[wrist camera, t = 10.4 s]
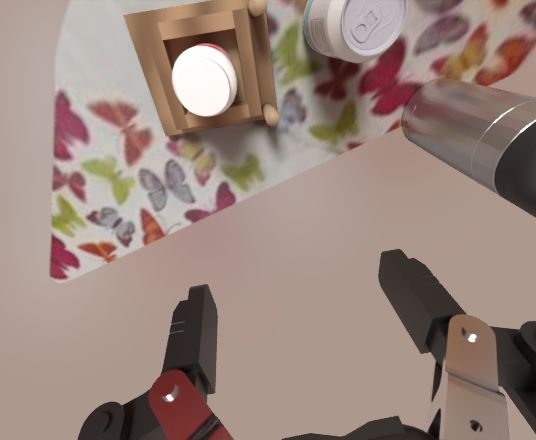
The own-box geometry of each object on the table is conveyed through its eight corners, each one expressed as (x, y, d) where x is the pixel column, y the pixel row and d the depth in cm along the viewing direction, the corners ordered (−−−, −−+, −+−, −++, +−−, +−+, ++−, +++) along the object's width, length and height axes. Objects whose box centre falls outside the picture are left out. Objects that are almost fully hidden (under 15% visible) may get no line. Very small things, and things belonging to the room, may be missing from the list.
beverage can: (370, 16, 33) (431, 10, 23) (328, 67, 35) (367, 82, 26) (332, -36, 30) (383, -68, 20) (289, 24, 32) (315, 22, 23)
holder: (262, -7, 30) (269, -15, 26) (276, 114, 38) (284, 127, 33) (126, 15, 30) (106, 12, 25) (167, 134, 38) (158, 149, 33)
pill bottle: (245, 64, 33) (252, 77, 24) (220, 110, 36) (218, 137, 27) (197, 29, 31) (184, 29, 22) (174, 81, 33) (154, 100, 24)
